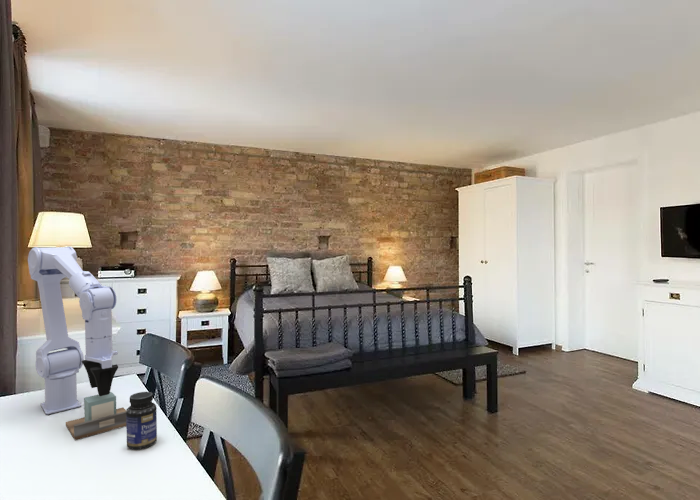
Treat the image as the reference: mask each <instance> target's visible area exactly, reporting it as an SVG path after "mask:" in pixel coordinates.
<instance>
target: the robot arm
mask: <svg viewBox="0 0 700 500" xmlns="http://www.w3.org/2000/svg"><path fill="white" fill-rule="evenodd" d="M77 261H78V256H77V252H76V250H75V249H74V248H73V247H72V246H65V247H64V246H62V247H61V246H59V247H57V246H55V247H36V246H35V247H32V248H31V249H30V250H29V252H28V256H27V264H28V272H29V275H30V280H33V281H36V282H37V287H38V292H39V299H40V304H41V306H40V307H41V311H42V318H43V319H42V320H43V324H44V330H45V331H44V332H45V337H46V341H45V342H43V344H42V345H40V346H39V348H37V350H36V351H35V359H36V360H35V370H36V373H37V375H38V376H39V377H40V378H41V379H42V378H43V379H44V402H41V403H40V407H41V408H42V410H43V412H44V414H45V415H51V414H55V413H59V412H64V411H68V410H72V409H77V408H79V407H82V404H81V402H80V401H79V400H78V393H77V392H78V391H77V390H78V389H77V373H79V371H80V369H81V368H82V367H83V366H84V368H85V372H86V373H87V377H88V381H89V385H90V387H91V389H93V388H96V389H97V393H98V394H97V395H99V396H104V395H108V394H109V393H110V392H111V389H112V384H113V381H114V380H113V379H114V377H115V374H116V373H117V370H118V369H119V365H118V364H113V357H114V356H116V355H118V353H119V352H118V351H117V350H113V319H112V317H113V316H112V315H113V312H112V311H113V309H114V308H115V307H116V305H117V294H116V291H115V289H114V288H113V287H112V286H110V285H108V286H106V285H102V284H101V282H100V281H99V280H98V279H97V278H96V277H95V276H94V275H93V274H92V273H91V272H90V270H89V271H85V270H83V268H81V266H80V264H79V263H78V262H77ZM65 278H67V279H68V286H69V288H70V290H71V291H72V292H73V293H74V294H75V295H76V296H77V298H78V299H79V300H78V302H79V307H80V310H81V317H82V319H83V320H84V340H85V341H84V342H85V344H84V345H85V355H84V353H83V350H82V348H81V345H80V341H77V340H75V339H73V338H71V337H69V334H68V333H69V332H68V325H67V320H66V314H65V308H64V302H63V296H62V290H61V281H62V280H63V279H65ZM57 350H58V351H57Z"/></svg>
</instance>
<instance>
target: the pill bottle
mask: <svg viewBox="0 0 700 500" xmlns="http://www.w3.org/2000/svg"><path fill="white" fill-rule="evenodd" d="M153 399H154V393H153V392H150V391H140V392H136V393H133V394H131V395H130V396H129V404H130V406H128V408H127V409H126V426H125V427H126V429H125V430H126V447H127V448H128V449H130V450H136V451H137V450H138V451H140V450H144V449H147V448H149V447H152V446H154V445H155V444H156V443H157V440H158V439H157V438H158V425H157V424H158V423H157V420H158V419H157V405H156V404H155V403H154V402H153Z"/></svg>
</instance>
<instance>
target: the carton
mask: <svg viewBox="0 0 700 500" xmlns="http://www.w3.org/2000/svg"><path fill="white" fill-rule="evenodd" d="M83 406H84V407H83V410H84V417H85V422H87V421H90V420H94V419H98V418H102V417H106V416H109V415H113V414H116V409H117V396H116V395H115V394H114V393H113V392H112V391H110V393H109V394H108V395H104V396H99V394H95V395H91V396H86V397H83Z"/></svg>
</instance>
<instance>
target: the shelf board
mask: <svg viewBox="0 0 700 500" xmlns="http://www.w3.org/2000/svg"><path fill="white" fill-rule="evenodd" d="M126 411H127V409H126V408H124V407H118V408H116V414H113V415H109V416H106V417H102V418H98V419H94V420H90V421H87V422H85V416H84V417H79V418H76V419H73V420H68V421H65V427H66V428H67V430H68V432H69V433H70V435H71V436H72V437H73V439H74V441H78V440H82V439H86V438H89V437H91V436H95V435H96V436H97V435H100V434H102V433H106V432H109V431H113V430H117V429H120V428H124V427H126Z"/></svg>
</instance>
